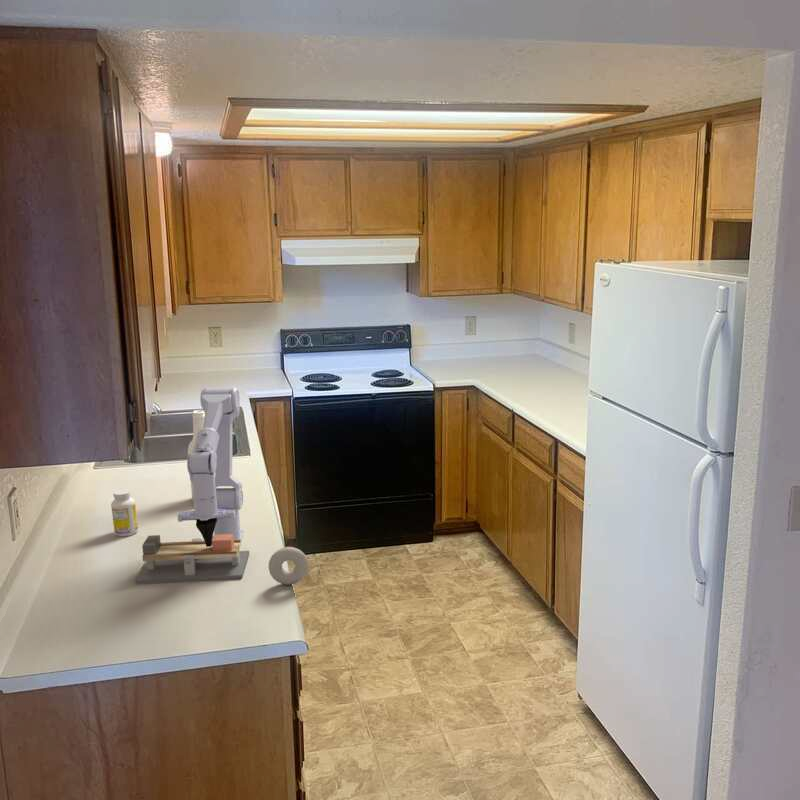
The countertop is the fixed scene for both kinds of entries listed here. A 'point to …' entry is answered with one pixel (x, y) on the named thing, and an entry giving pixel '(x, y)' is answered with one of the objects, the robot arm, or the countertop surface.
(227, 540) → the block
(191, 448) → the alcohol
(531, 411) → the countertop surface
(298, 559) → the donut
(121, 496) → the supplement bottle
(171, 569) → the tilt stand
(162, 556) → the beam
